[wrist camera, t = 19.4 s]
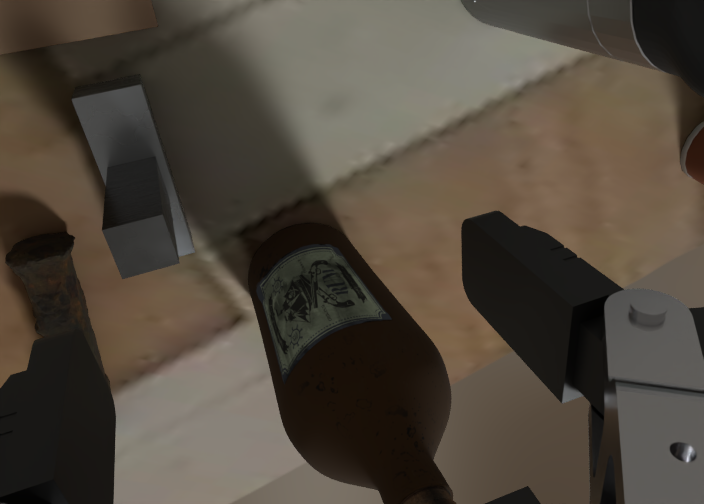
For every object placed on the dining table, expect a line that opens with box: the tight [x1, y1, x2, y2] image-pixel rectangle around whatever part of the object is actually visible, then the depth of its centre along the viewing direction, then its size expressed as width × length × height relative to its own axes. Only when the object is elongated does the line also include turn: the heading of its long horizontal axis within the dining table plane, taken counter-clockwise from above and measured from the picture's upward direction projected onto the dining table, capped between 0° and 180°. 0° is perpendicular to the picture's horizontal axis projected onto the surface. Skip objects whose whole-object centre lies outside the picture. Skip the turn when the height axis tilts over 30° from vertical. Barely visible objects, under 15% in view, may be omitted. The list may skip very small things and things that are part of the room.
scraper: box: [72, 74, 195, 279], centre depth 34 cm, size 4×12×12 cm, turn 7°
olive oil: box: [248, 223, 456, 504], centre depth 37 cm, size 11×11×25 cm
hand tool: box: [5, 233, 110, 388], centre depth 42 cm, size 19×4×5 cm, turn 178°
